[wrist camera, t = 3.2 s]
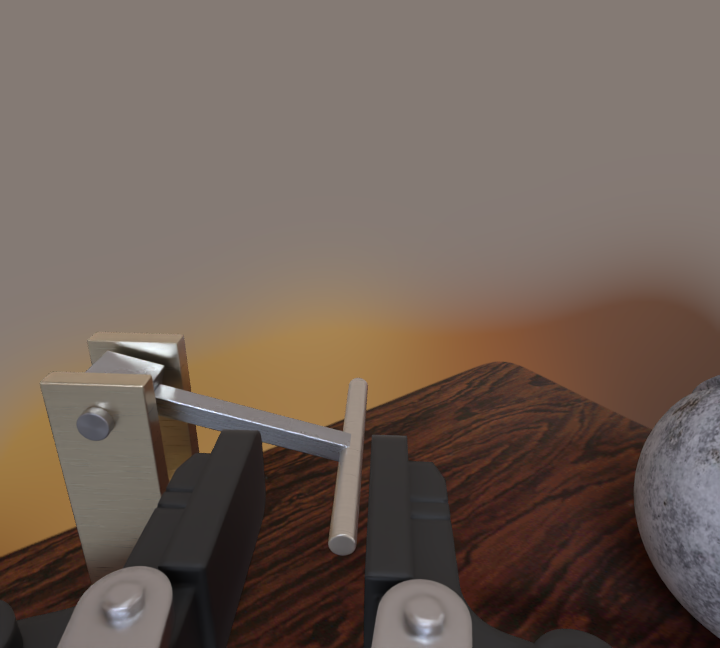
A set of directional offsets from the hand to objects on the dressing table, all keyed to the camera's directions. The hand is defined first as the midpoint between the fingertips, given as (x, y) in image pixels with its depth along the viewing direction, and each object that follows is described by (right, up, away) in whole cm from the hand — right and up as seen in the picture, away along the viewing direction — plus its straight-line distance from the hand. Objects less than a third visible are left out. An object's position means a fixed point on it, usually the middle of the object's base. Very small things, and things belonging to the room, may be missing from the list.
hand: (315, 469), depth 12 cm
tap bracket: (-10, -13, +20) cm, 26 cm away
